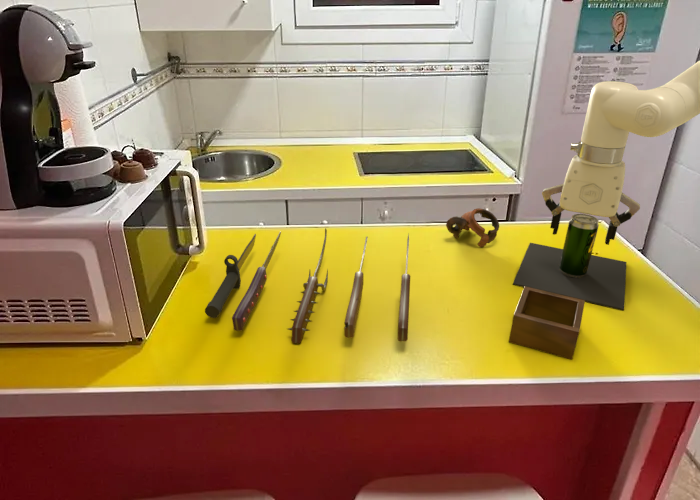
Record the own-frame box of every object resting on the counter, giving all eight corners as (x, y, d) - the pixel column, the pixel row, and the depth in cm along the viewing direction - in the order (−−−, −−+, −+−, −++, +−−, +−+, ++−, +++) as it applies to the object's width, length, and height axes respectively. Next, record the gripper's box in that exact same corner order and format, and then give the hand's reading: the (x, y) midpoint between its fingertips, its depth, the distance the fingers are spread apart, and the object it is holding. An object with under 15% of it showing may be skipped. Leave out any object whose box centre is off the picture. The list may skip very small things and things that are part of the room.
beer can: (558, 275, 105) (570, 222, 100) (558, 263, 110) (570, 211, 104) (586, 280, 104) (600, 226, 98) (586, 268, 108) (599, 215, 102)
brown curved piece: (476, 228, 127) (495, 206, 121) (488, 259, 122) (508, 238, 116) (434, 222, 122) (451, 199, 116) (444, 254, 117) (463, 232, 111)
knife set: (411, 252, 112) (412, 220, 108) (406, 355, 84) (408, 317, 80) (254, 245, 116) (250, 214, 112) (199, 341, 88) (191, 304, 84)
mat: (626, 263, 111) (626, 261, 111) (623, 310, 95) (624, 309, 95) (529, 243, 119) (530, 242, 118) (512, 284, 103) (512, 283, 103)
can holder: (578, 326, 91) (585, 300, 88) (572, 359, 83) (579, 331, 80) (519, 311, 94) (524, 286, 92) (508, 342, 87) (513, 314, 84)
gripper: (548, 151, 95) (532, 235, 103) (654, 165, 89) (628, 254, 96) (553, 141, 101) (538, 221, 109) (653, 154, 94) (629, 238, 102)
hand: (580, 236), depth 103 cm, fingers open, 9 cm apart
